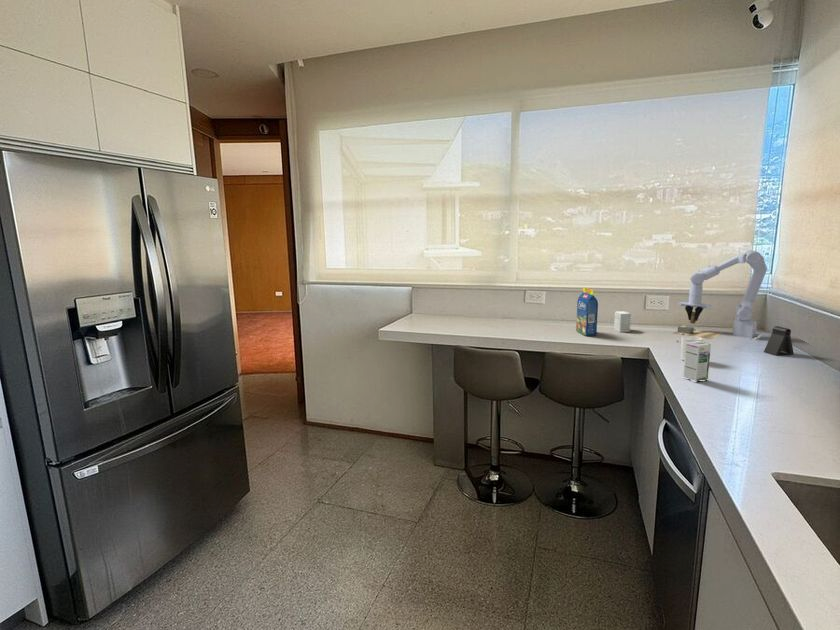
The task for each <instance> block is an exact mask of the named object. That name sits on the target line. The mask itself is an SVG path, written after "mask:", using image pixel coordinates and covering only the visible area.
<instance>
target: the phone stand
mask: <svg viewBox="0 0 840 630" xmlns="http://www.w3.org/2000/svg"><path fill="white" fill-rule="evenodd" d="M791 333H792V330H791V329H790V328H789V327H788V328H787V327H783V326H778V325H776V326H775V325H774V326H773V327H772V332H771V335H770V337H769V339H768V341H767V343H766V346H765V348H764V350H763V353H765V354H769V355H772V356H774V357H779V356H793V355H794V354H795V353H794V348H793V343H792V337H791V335H792V334H791Z"/></svg>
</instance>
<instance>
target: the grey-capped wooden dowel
mask: <svg viewBox="0 0 840 630" xmlns="http://www.w3.org/2000/svg"><path fill="white" fill-rule="evenodd" d="M689 323H690V324H696V321H695V311H692V314H691V319H690V320H689Z"/></svg>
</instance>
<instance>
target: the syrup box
mask: <svg viewBox="0 0 840 630" xmlns="http://www.w3.org/2000/svg"><path fill="white" fill-rule="evenodd" d="M711 346H712V345H711V344H710V343H708V342H705V341H702V342H701V341H696V342H687V343H686V351H685V361H684V366H683V377H686V378H689V379H692V380H695V381H700V380H707V379H708V380H709V372H710V371H709V370H710V357H711Z"/></svg>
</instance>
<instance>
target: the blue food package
mask: <svg viewBox="0 0 840 630" xmlns="http://www.w3.org/2000/svg"><path fill="white" fill-rule="evenodd" d="M576 304H577V305H576V324H575V325H576V327H575V329H576V330H575V331H576V332H577V333H578V334H581V335H583V336H586V337H592V336H593V337H594V336H595V337H596V336H597V331H598V329H597V328H598V311H599V303H598V298H596V296H595V295H594V290H593V289H591V288H587V287H583V288H582V292H581V293H580V295H579V296H578V297H577V303H576Z"/></svg>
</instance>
